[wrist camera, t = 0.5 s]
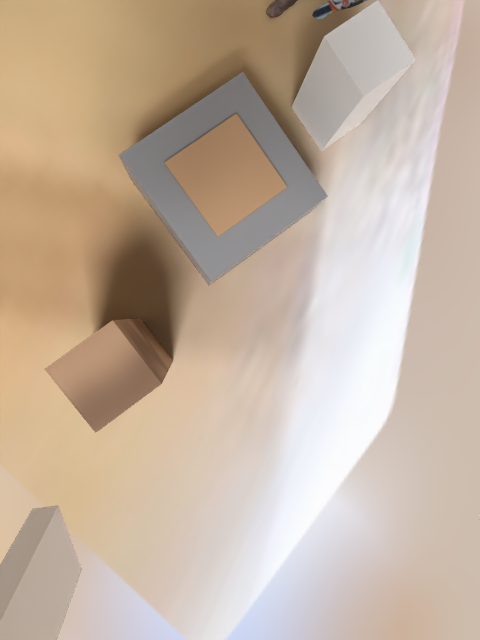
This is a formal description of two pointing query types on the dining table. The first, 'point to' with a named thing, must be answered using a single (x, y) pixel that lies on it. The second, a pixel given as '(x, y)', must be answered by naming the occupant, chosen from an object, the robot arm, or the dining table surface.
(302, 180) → the base block
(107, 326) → the walnut block
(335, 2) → the stuffed animal
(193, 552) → the dining table surface
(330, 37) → the white block
